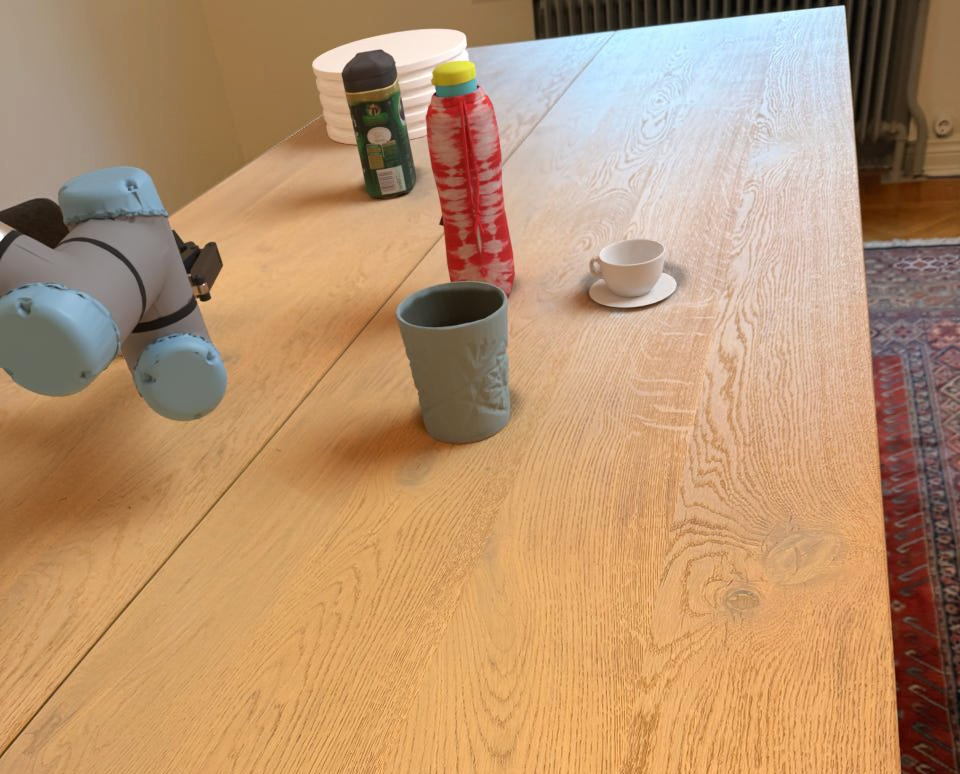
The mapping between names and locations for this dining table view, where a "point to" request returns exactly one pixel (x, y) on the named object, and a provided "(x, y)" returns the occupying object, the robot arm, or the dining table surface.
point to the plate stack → (414, 72)
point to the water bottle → (469, 177)
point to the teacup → (631, 274)
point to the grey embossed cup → (458, 358)
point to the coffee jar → (379, 123)
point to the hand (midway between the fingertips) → (116, 260)
